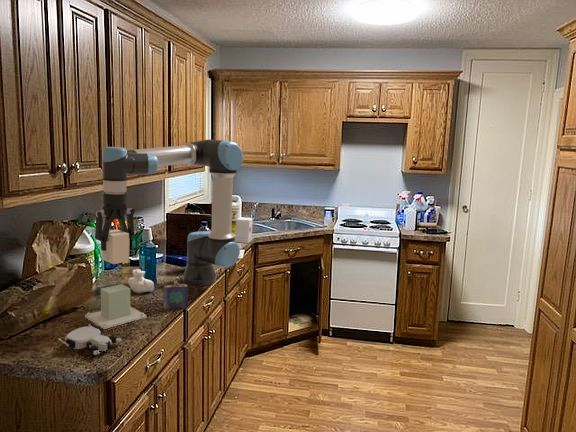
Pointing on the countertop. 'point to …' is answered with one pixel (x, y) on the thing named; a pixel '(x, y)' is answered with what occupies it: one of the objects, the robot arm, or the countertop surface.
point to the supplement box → (243, 230)
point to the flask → (175, 296)
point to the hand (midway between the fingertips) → (115, 257)
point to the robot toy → (89, 339)
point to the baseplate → (107, 323)
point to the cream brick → (118, 247)
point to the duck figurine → (140, 282)
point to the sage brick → (115, 302)
